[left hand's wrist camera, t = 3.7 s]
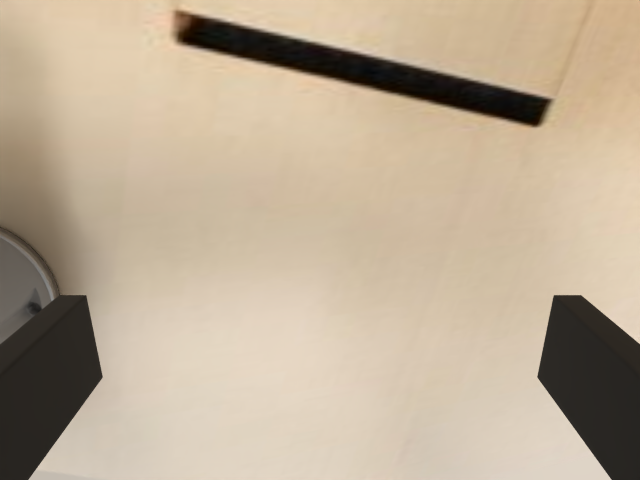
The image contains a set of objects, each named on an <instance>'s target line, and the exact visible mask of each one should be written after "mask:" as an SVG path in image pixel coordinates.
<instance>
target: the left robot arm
mask: <svg viewBox="0 0 640 480" xmlns="http://www.w3.org/2000/svg"><path fill="white" fill-rule="evenodd" d="M101 379H102V372H101V367H100V362H99V357H98V352H97V347H96V342H95V337H94V332H93V327H92V322H91V317H90V312H89V307H88V302H87V297H86V295H59V291H58V287H57V284H56V282H55V279H54V277H53V275H52V273H51V271H50V270H49V268H48V266H47V265H46V263H45V262H44V261H43V260H42V258H41V257H40V256H39V255H38V254H37V253H36V252H35V251H34V250H33V249H32V248H31V247H30V246H29V245H28V244H27V243H25V242H24V241H23V240H21V239H20V238H18V237H17V236H15V235H14V234H12V233H10V232H9V231H7V230H5V229H2V228H0V480H28V479H29V478H30V477H31V475H32V474H33V472H34V471H35V470H36V468H37V467H38V466H39V464H40V463H41V461H42V460H43V459H44V457H45V456H46V455H47V453H48V452H49V450H50V449H51V448H52V446H53V445H54V444H55V442H56V441H57V439H58V438H59V437H60V435H61V434H62V433H63V431H64V430H65V428H66V427H67V426H68V424H69V423H70V422H71V420H72V419H73V417H74V416H75V415H76V413H77V412H78V411H79V409H80V408H81V406H82V405H83V404H84V402H85V401H86V399H87V398H88V397H89V395H90V394H91V393H92V391H93V390H94V388H95V387H96V386H97V384H98V383H99V382H100V380H101ZM538 379H539V380H540V382H541V383H542V384H543V386H544V387H545V388H546V390H547V391H548V393H549V394H550V395H551V397H552V398H553V399H554V401H555V402H556V404H557V405H558V406H559V408H560V409H561V411H562V412H563V413H564V415H565V416H566V417H567V419H568V420H569V422H570V423H571V424H572V426H573V427H574V428H575V430H576V431H577V433H578V434H579V435H580V437H581V438H582V439H583V441H584V442H585V444H586V445H587V446H588V448H589V449H590V450H591V452H592V453H593V455H594V456H595V457H596V459H597V460H598V461H599V463H600V464H601V466H602V467H603V468H604V470H605V471H606V473H607V474H608V475H609V477H610V478H611V479H612V480H640V344H639V343H638V342H636V341H635V340H634V339H633V338H632V337H630V336H629V335H628V334H627V333H626V332H624V331H623V330H622V329H621V328H620V327H618V326H617V325H616V324H615V323H614V322H612V321H611V320H610V319H609V318H608V317H606V316H605V315H604V314H603V313H602V312H600V311H599V310H598V309H597V308H596V307H594V306H593V305H592V304H591V303H590V302H588V301H587V300H586V299H585V298H584V297H582V296H581V295H554V297H553V302H552V307H551V312H550V317H549V322H548V327H547V332H546V337H545V342H544V347H543V352H542V357H541V362H540V367H539V372H538Z"/></svg>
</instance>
